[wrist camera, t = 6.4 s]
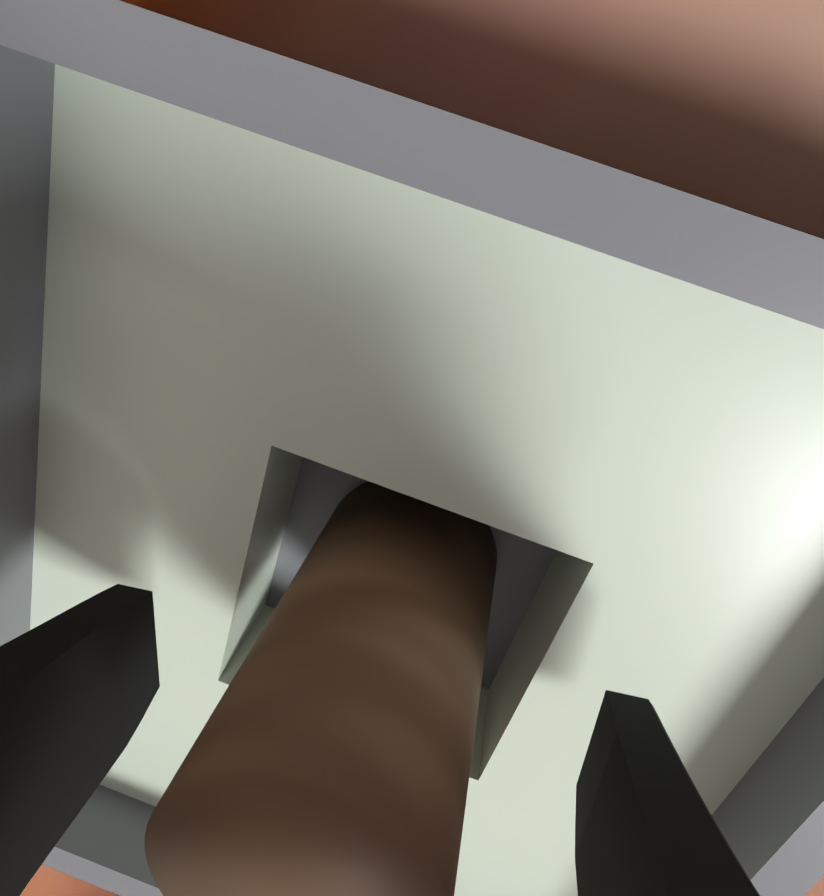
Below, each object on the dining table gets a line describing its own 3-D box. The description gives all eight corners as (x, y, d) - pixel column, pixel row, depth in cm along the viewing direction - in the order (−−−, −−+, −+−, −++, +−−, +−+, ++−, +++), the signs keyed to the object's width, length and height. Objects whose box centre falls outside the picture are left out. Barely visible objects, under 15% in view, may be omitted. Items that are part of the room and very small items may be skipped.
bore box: (1009, 304, 10) (1299, 400, 6) (593, 874, 17) (606, 1091, 13) (134, 7, 11) (-105, -77, 7) (74, 673, 18) (-61, 822, 14)
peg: (510, 493, 13) (473, 824, 6) (482, 638, 14) (430, 1019, 8) (331, 460, 13) (132, 739, 7) (323, 604, 15) (154, 939, 8)
